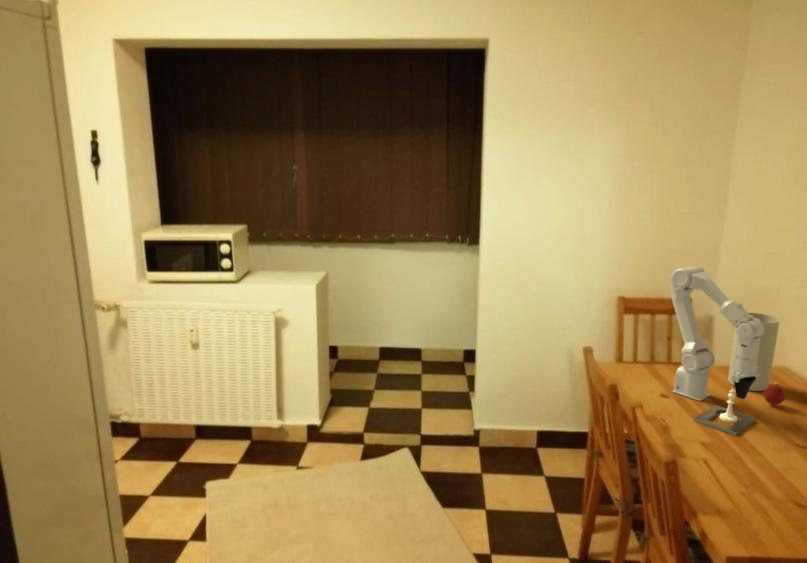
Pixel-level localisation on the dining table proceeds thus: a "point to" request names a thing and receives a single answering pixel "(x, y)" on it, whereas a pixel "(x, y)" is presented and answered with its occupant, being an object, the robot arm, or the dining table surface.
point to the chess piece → (729, 409)
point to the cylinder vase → (760, 352)
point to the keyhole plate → (733, 429)
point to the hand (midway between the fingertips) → (740, 397)
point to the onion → (774, 394)
